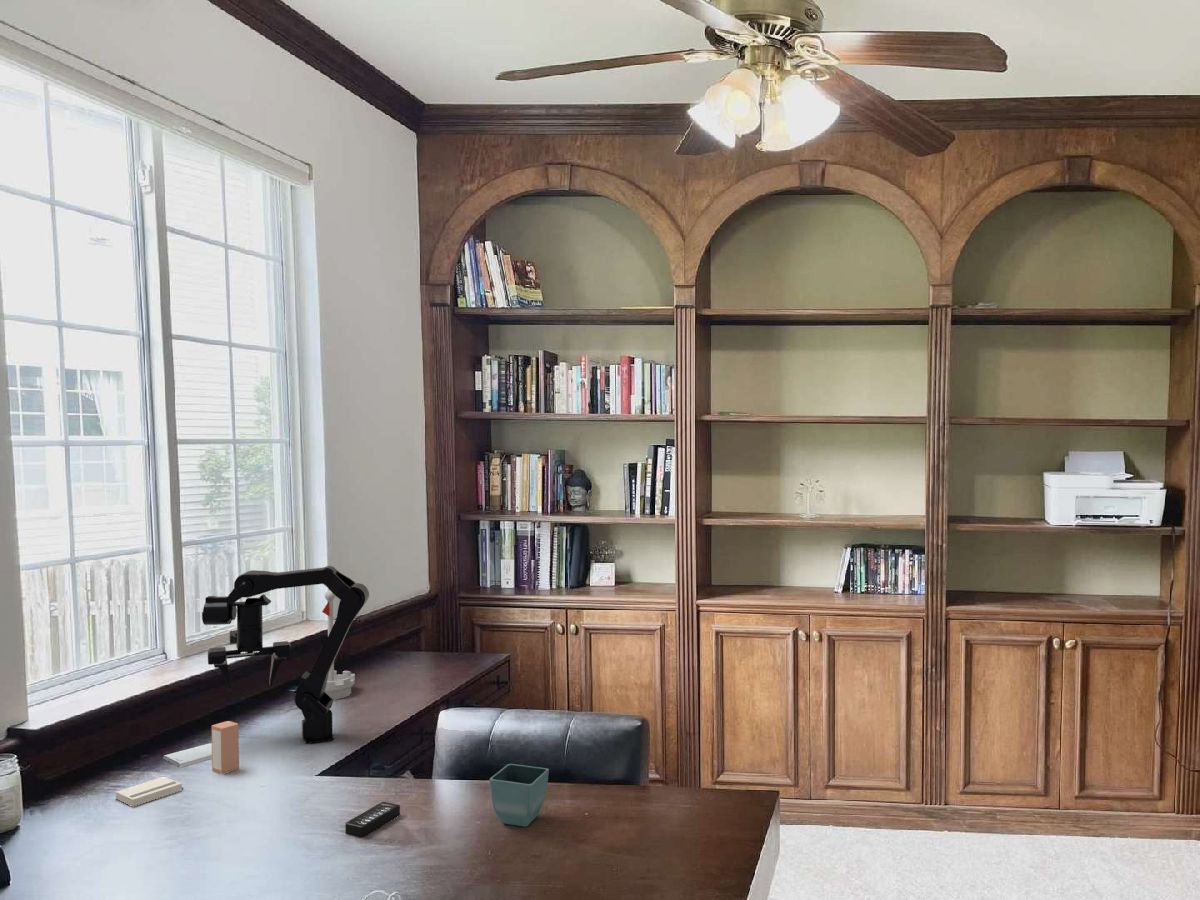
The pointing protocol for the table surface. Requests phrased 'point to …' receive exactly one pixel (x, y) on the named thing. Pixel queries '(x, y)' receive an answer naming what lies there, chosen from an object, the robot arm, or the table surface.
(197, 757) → the hard drive
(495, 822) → the table surface
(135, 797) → the striped cream block
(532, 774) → the flower pot
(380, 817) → the multiport hub
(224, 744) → the stub
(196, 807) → the table surface
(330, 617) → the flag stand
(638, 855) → the table surface
